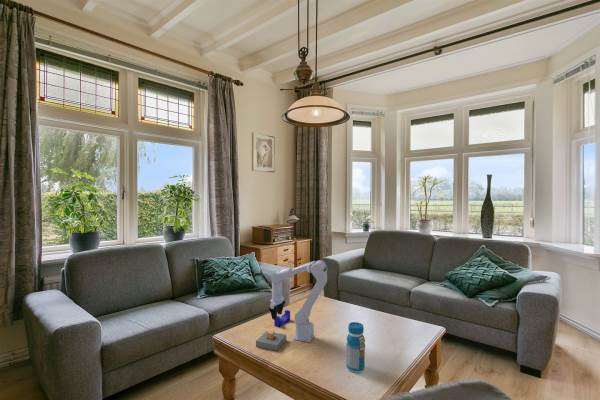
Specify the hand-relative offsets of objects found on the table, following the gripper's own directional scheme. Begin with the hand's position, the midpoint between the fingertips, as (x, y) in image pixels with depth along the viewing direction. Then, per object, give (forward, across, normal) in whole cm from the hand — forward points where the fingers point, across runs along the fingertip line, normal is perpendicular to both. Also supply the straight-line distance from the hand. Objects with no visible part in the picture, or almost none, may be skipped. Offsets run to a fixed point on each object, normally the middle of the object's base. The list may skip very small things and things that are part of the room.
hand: (277, 316), depth 176 cm
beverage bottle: (+10, +19, +48) cm, 52 cm away
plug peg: (+10, +12, +2) cm, 15 cm away
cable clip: (+10, -14, -3) cm, 17 cm away
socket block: (+9, +12, +2) cm, 15 cm away
